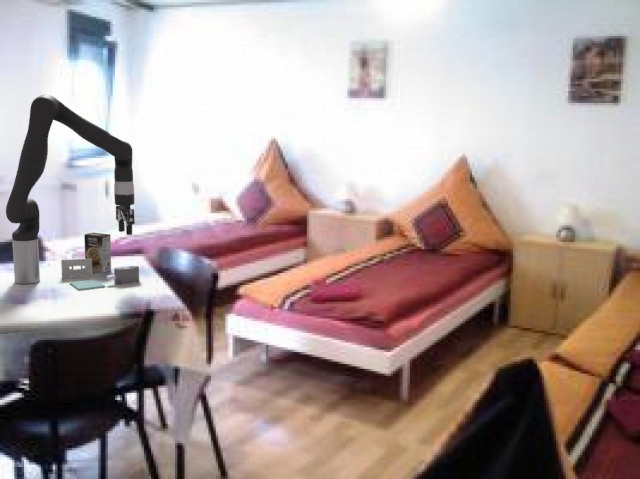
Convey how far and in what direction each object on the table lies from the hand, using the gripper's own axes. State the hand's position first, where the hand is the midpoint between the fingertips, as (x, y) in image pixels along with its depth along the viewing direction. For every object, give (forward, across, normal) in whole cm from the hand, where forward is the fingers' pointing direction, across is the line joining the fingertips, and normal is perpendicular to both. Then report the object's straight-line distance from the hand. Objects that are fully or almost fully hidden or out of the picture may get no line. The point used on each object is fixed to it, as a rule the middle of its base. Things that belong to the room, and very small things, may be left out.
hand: (125, 233), depth 262 cm
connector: (+20, 0, -1) cm, 20 cm away
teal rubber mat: (+20, -3, -15) cm, 25 cm away
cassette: (+20, -19, -14) cm, 31 cm away
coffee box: (+20, -26, -3) cm, 33 cm away
